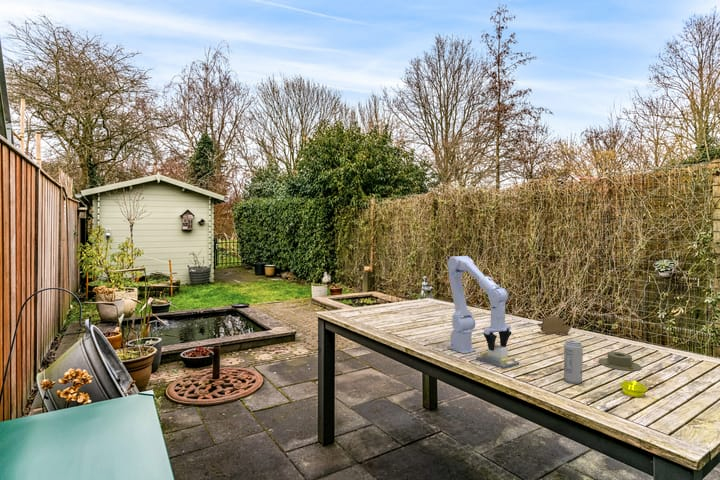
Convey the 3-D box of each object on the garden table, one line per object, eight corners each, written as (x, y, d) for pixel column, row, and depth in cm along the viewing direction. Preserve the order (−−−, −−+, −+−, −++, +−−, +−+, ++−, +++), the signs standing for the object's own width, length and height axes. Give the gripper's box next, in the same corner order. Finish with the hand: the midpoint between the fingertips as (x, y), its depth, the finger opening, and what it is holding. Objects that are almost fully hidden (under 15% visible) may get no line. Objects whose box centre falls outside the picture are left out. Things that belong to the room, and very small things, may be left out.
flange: (620, 348, 172) (590, 350, 169) (651, 359, 157) (618, 361, 155) (620, 359, 172) (590, 361, 170) (651, 371, 157) (618, 373, 155)
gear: (653, 398, 130) (635, 389, 138) (653, 387, 130) (636, 378, 138) (630, 398, 130) (613, 389, 138) (630, 387, 130) (614, 378, 138)
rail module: (487, 356, 168) (487, 344, 168) (493, 355, 170) (494, 343, 170) (501, 361, 162) (501, 348, 162) (507, 359, 164) (507, 347, 164)
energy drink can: (584, 385, 141) (585, 343, 141) (566, 383, 142) (567, 342, 142) (578, 378, 147) (579, 339, 147) (561, 377, 148) (562, 338, 148)
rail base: (476, 359, 169) (476, 352, 169) (491, 355, 175) (491, 349, 175) (503, 368, 158) (503, 362, 158) (519, 364, 163) (519, 357, 163)
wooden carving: (568, 334, 213) (568, 315, 213) (571, 336, 208) (571, 317, 208) (536, 332, 216) (536, 314, 216) (538, 334, 211) (538, 316, 211)
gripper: (494, 320, 159) (493, 354, 159) (516, 316, 166) (516, 348, 167) (480, 317, 165) (479, 349, 165) (502, 313, 172) (502, 344, 173)
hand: (497, 348), depth 166 cm, fingers open, 7 cm apart
